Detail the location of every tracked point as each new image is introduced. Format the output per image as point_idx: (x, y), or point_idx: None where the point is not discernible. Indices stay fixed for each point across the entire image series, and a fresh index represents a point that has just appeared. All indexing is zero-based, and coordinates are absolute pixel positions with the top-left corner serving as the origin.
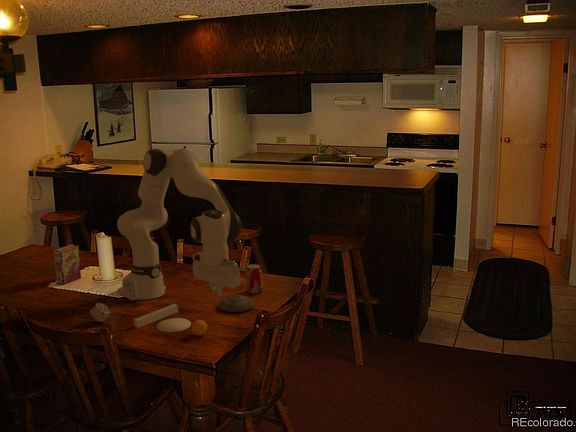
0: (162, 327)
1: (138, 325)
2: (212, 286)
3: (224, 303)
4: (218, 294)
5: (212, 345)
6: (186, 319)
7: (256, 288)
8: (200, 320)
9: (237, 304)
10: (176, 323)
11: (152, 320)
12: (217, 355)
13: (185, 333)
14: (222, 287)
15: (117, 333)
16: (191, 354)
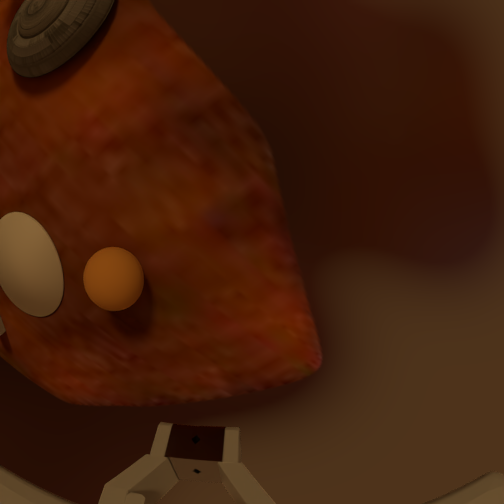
0: (24, 300)
1: (1, 331)
2: (154, 500)
3: (28, 57)
4: (240, 459)
5: (232, 302)
6: (13, 213)
7: None
8: (102, 288)
9: (71, 22)
10: (19, 255)
11: None
12: (303, 339)
13: None
14: (265, 499)
15: (16, 369)
16: (230, 375)
